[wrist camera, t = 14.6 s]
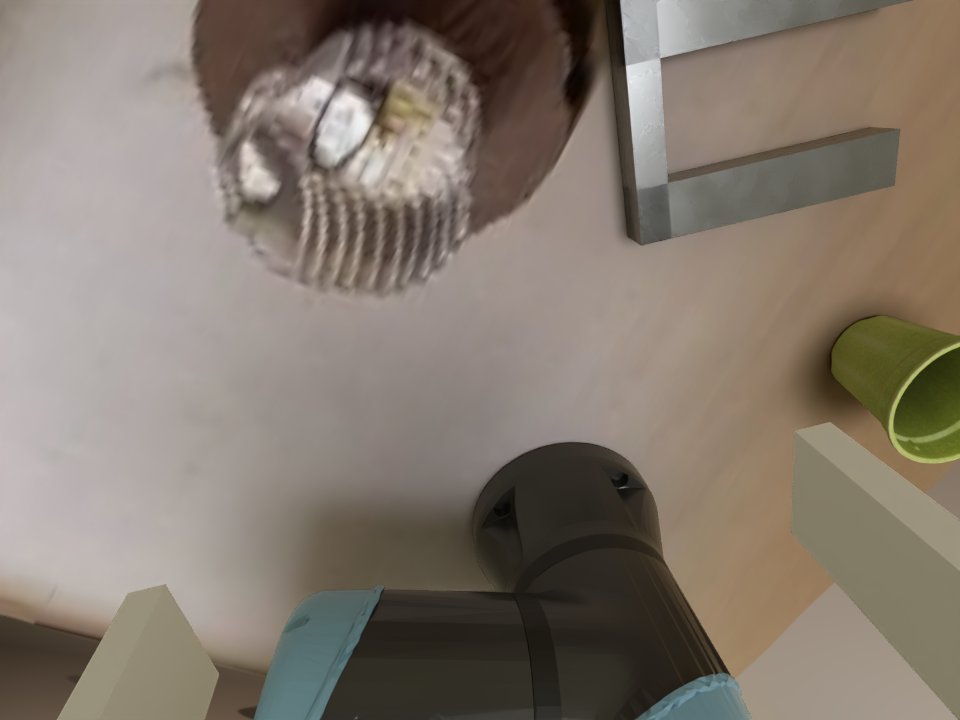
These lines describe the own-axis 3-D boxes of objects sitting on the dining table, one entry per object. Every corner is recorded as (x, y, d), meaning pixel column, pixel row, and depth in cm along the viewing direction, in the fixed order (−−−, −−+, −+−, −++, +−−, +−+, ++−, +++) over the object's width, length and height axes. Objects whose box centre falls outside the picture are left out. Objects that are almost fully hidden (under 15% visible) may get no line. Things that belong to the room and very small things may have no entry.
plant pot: (865, 420, 48) (954, 482, 41) (783, 377, 46) (862, 435, 38) (945, 325, 45) (1058, 373, 38) (863, 274, 43) (967, 313, 35)
